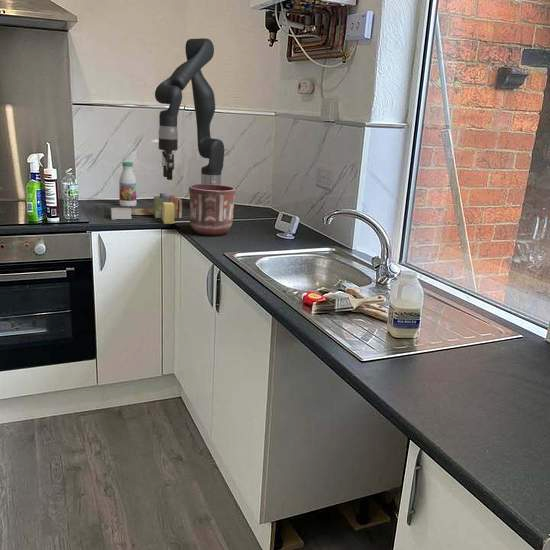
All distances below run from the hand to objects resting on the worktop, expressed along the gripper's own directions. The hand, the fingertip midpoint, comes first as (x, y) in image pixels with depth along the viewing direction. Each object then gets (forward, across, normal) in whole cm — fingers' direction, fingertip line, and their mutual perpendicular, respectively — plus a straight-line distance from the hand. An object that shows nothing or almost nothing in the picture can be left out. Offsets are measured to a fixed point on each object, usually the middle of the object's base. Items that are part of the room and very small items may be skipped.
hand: (167, 178), depth 232 cm
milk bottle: (+18, +38, +12) cm, 44 cm away
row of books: (+18, +10, +7) cm, 22 cm away
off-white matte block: (+18, +9, +18) cm, 27 cm away
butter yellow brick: (+18, 0, 0) cm, 18 cm away
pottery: (+18, -20, -14) cm, 31 cm away
